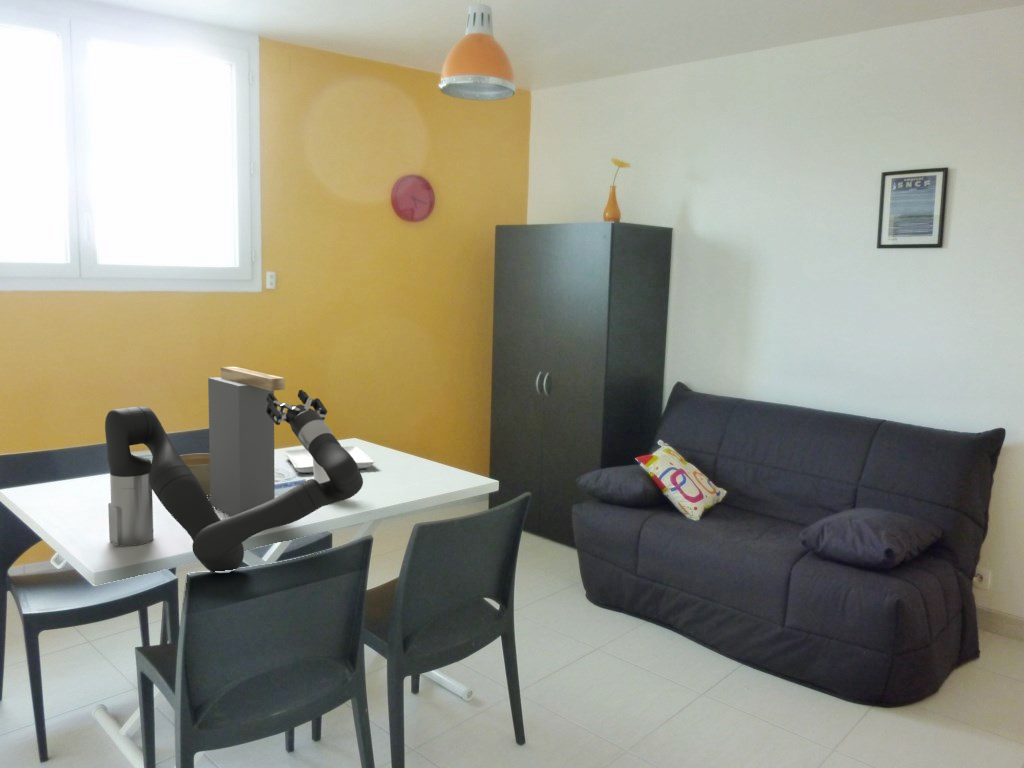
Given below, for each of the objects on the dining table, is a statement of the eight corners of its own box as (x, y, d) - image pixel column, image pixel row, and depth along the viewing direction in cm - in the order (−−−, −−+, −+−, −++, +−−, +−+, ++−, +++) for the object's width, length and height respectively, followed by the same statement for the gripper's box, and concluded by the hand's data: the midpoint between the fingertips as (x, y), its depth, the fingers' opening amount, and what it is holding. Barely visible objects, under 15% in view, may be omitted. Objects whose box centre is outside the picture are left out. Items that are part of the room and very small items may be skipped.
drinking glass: (308, 494, 242) (308, 446, 240) (327, 491, 247) (327, 444, 245) (320, 499, 237) (320, 450, 235) (339, 496, 242) (339, 447, 240)
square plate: (282, 459, 288) (282, 449, 288) (356, 455, 300) (356, 444, 299) (295, 477, 264) (295, 465, 264) (375, 471, 276) (375, 460, 275)
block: (270, 390, 202) (270, 379, 202) (220, 377, 224) (220, 367, 224) (284, 389, 205) (284, 378, 205) (234, 376, 227) (234, 366, 226)
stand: (240, 521, 214) (238, 385, 209) (210, 505, 228) (208, 377, 223) (274, 515, 221) (273, 383, 216) (243, 499, 235) (242, 375, 230)
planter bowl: (193, 484, 249) (193, 451, 248) (237, 490, 244) (236, 456, 243) (156, 497, 234) (155, 461, 233) (201, 503, 229) (201, 467, 228)
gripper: (283, 448, 191) (255, 408, 200) (334, 441, 201) (306, 403, 210) (290, 423, 187) (261, 383, 196) (342, 417, 197) (313, 380, 206)
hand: (284, 393), depth 203 cm, fingers open, 8 cm apart
